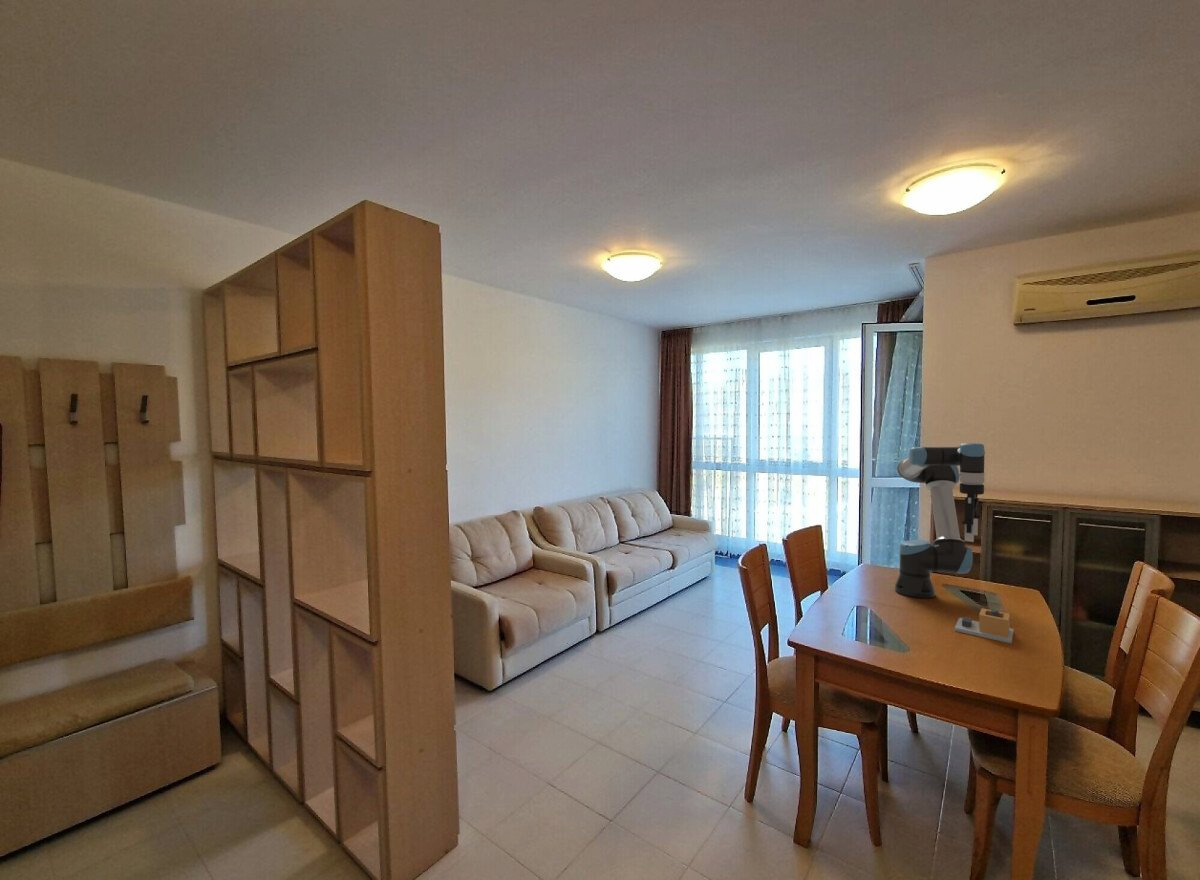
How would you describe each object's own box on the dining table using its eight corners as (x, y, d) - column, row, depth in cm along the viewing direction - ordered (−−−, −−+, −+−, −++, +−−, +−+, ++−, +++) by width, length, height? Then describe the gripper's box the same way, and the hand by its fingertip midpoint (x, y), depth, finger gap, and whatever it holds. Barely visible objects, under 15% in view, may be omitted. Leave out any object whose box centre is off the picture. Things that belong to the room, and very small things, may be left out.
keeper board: (959, 620, 188) (959, 599, 188) (1013, 632, 177) (1013, 609, 177) (954, 630, 179) (954, 608, 179) (1011, 643, 168) (1011, 620, 168)
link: (981, 624, 182) (981, 608, 181) (1009, 629, 176) (1009, 613, 176) (979, 631, 176) (979, 614, 175) (1008, 637, 170) (1008, 620, 170)
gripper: (963, 479, 199) (963, 530, 200) (955, 486, 181) (954, 542, 182) (987, 480, 194) (986, 533, 195) (980, 487, 176) (980, 545, 177)
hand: (971, 538), depth 188 cm, fingers open, 13 cm apart
